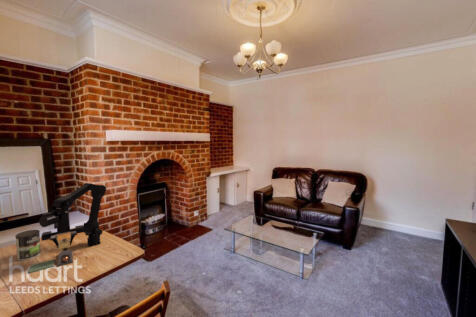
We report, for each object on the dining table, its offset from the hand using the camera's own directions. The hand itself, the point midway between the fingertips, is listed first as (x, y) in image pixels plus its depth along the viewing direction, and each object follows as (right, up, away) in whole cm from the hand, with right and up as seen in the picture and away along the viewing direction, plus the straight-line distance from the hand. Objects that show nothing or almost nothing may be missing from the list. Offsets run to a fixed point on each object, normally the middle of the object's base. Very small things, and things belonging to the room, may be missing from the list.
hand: (64, 246), depth 124 cm
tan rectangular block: (0, +1, 0) cm, 1 cm away
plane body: (0, -8, +1) cm, 8 cm away
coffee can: (-24, -7, +4) cm, 26 cm away
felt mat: (-7, -8, -7) cm, 13 cm away
